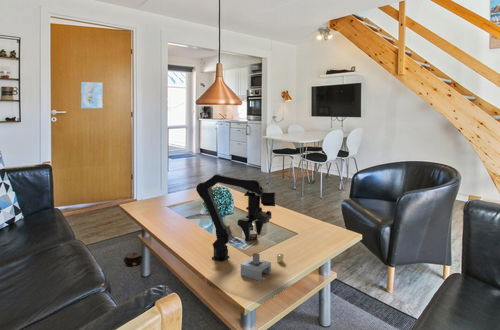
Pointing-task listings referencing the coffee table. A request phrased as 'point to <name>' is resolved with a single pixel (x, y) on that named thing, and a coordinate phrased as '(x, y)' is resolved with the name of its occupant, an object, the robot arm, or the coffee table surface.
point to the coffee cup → (133, 259)
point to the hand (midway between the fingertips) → (253, 237)
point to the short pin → (279, 258)
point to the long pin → (256, 259)
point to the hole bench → (255, 269)
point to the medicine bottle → (251, 234)
